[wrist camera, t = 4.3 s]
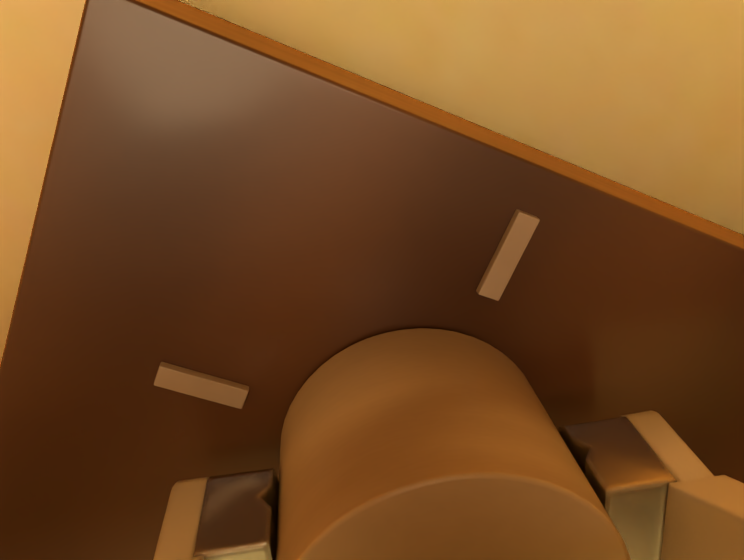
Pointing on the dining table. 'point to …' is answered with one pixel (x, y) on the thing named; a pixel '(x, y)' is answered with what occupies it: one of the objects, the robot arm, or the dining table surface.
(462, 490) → the dial knob
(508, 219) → the dial panel
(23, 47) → the dining table surface
